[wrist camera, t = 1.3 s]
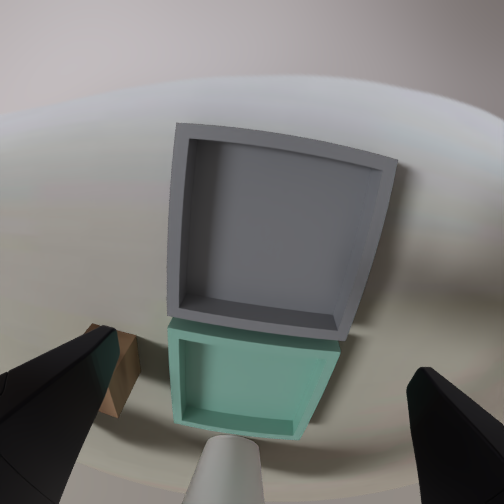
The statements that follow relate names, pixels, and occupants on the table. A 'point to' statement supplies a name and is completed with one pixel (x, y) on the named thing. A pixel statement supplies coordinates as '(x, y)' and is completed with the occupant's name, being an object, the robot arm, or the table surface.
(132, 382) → the walnut block
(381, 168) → the tray
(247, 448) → the foam cup
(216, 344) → the tray
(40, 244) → the table surface
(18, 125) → the table surface
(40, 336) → the table surface
